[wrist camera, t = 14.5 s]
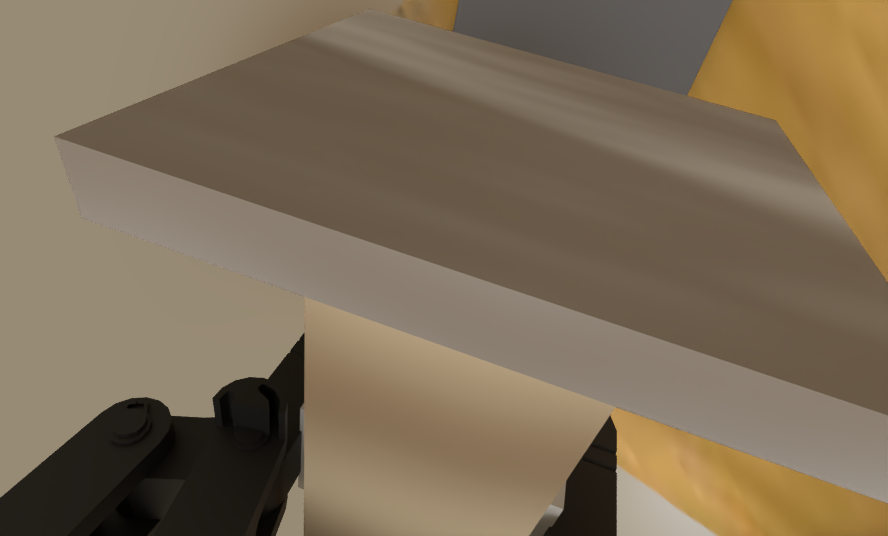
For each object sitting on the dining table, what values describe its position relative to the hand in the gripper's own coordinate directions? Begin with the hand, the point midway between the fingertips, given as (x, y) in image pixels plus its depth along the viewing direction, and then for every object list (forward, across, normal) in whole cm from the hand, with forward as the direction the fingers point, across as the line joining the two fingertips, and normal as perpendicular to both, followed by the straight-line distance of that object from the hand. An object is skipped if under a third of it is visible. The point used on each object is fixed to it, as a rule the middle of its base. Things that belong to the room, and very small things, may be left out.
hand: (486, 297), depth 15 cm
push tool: (0, 0, +1) cm, 1 cm away
